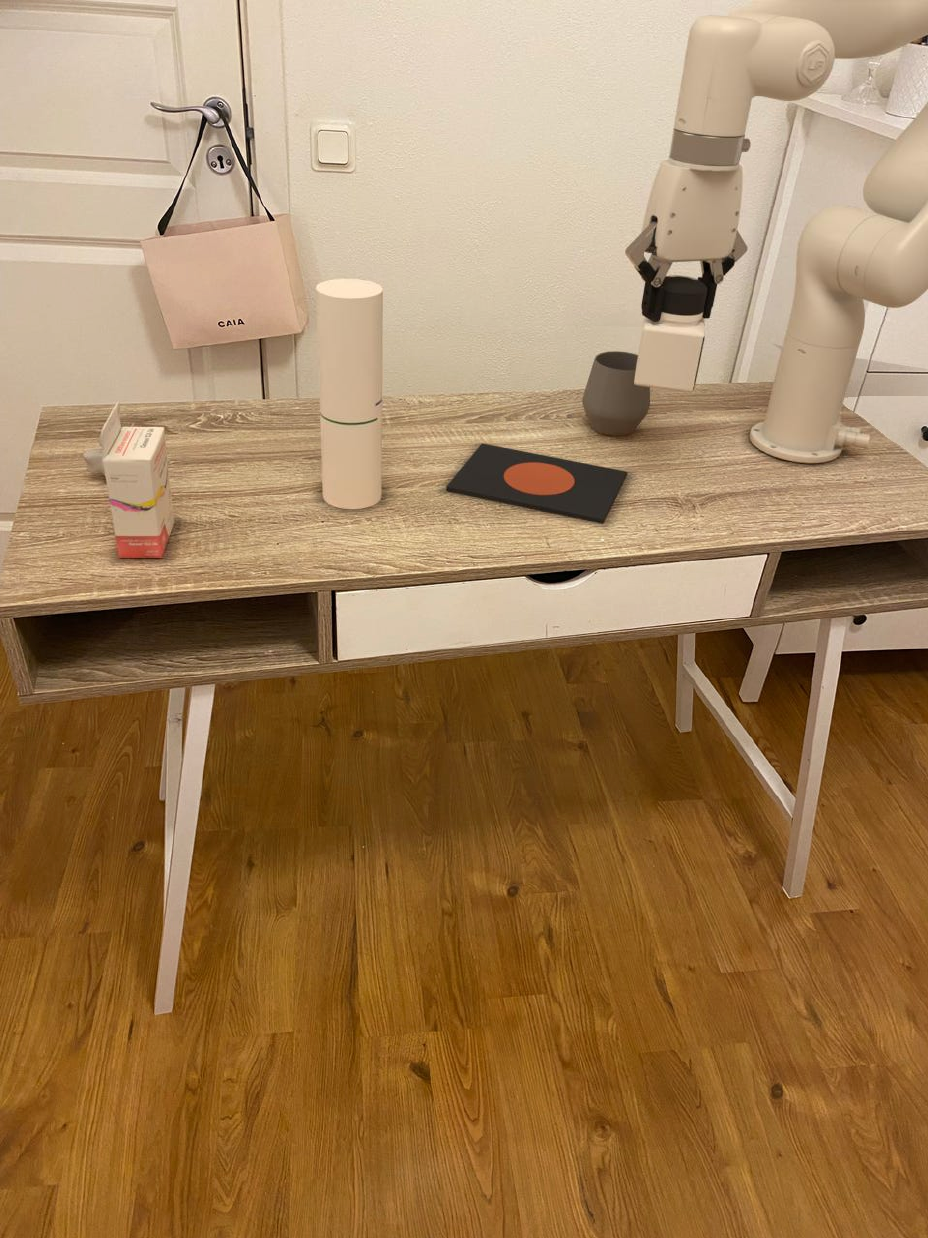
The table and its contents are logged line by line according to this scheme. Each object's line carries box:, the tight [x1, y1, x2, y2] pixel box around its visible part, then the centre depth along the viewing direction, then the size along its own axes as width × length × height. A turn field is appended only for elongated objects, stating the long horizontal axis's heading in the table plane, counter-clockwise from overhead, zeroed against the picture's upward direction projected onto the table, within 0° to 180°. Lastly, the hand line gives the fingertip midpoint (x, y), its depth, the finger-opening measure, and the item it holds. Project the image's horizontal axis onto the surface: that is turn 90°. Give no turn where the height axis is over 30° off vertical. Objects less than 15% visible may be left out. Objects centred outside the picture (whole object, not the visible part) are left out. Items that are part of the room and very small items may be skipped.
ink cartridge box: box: [100, 401, 175, 559], centre depth 106 cm, size 9×5×15 cm, turn 5°
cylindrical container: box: [315, 278, 384, 510], centre depth 115 cm, size 7×7×25 cm
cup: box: [581, 350, 651, 437], centre depth 139 cm, size 10×9×10 cm
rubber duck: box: [82, 422, 114, 477], centre depth 120 cm, size 5×7×8 cm
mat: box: [445, 443, 628, 524], centre depth 127 cm, size 20×14×1 cm
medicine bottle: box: [634, 274, 708, 393], centre depth 118 cm, size 7×7×12 cm
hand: (675, 315), depth 117 cm, fingers closed on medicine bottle, 6 cm apart
